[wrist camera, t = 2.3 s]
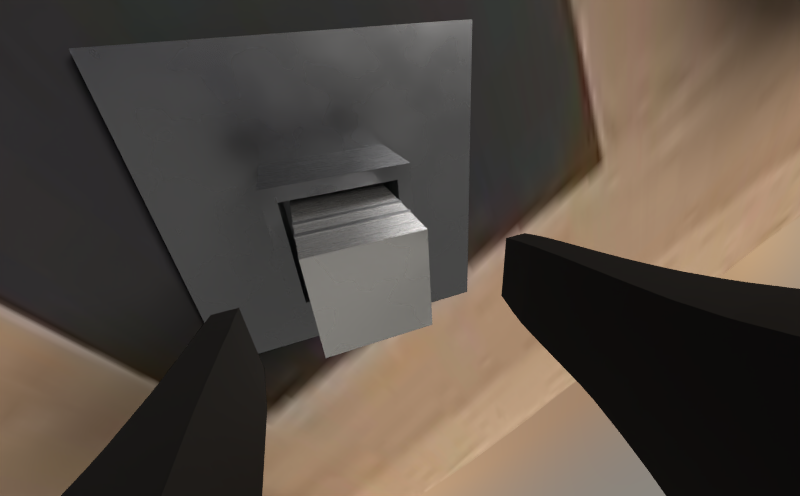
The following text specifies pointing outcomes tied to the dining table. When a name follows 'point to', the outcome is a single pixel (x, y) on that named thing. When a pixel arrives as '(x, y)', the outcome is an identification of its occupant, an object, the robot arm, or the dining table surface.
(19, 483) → the dining table surface
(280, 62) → the stand
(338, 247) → the column
